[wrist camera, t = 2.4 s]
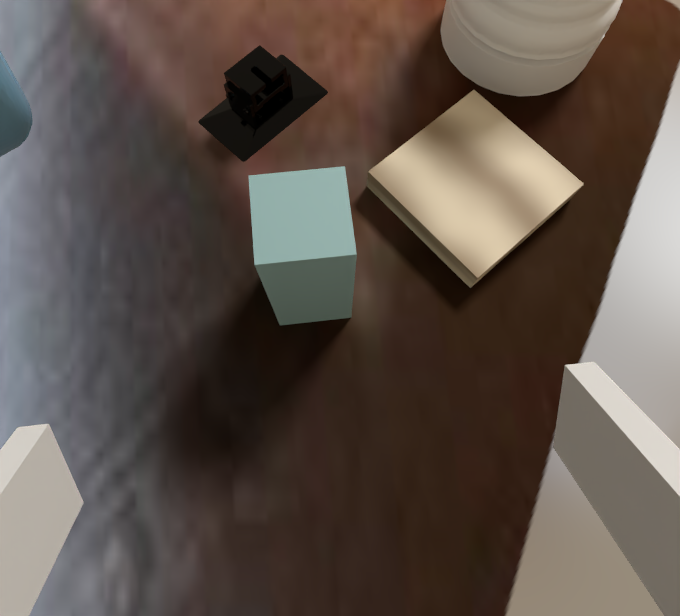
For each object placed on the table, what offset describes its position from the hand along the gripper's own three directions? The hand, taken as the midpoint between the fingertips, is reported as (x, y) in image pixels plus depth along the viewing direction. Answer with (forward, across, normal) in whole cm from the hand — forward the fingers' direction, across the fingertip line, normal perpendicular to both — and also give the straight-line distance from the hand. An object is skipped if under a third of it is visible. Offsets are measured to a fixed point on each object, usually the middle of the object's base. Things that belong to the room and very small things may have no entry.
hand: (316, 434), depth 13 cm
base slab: (+27, +12, -2) cm, 30 cm away
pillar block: (+22, 0, -6) cm, 23 cm away
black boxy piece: (+34, -3, +5) cm, 34 cm away
